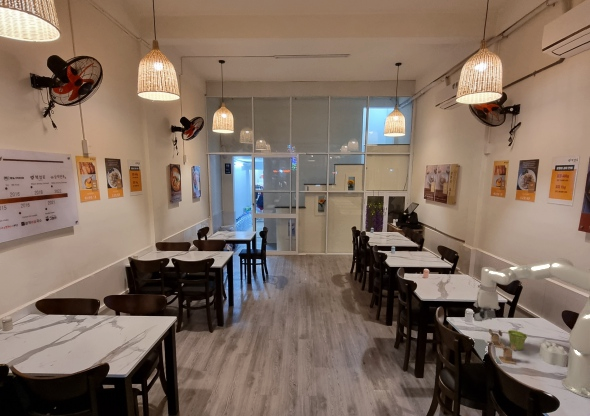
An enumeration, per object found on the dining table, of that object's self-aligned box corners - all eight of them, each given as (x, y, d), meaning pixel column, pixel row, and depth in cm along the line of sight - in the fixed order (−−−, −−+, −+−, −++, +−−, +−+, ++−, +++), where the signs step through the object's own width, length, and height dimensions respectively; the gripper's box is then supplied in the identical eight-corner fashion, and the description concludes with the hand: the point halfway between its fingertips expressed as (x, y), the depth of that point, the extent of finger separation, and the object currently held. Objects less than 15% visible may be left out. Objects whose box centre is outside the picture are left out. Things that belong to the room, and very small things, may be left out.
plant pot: (508, 349, 169) (509, 335, 169) (505, 341, 178) (506, 328, 177) (527, 353, 165) (529, 339, 164) (523, 345, 173) (524, 332, 173)
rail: (495, 318, 158) (494, 310, 160) (487, 317, 159) (486, 309, 161) (481, 321, 177) (480, 314, 179) (474, 320, 178) (473, 314, 180)
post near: (515, 364, 155) (517, 348, 154) (502, 362, 156) (503, 346, 156) (511, 359, 160) (512, 343, 159) (498, 357, 161) (499, 341, 160)
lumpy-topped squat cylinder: (544, 363, 156) (546, 348, 156) (535, 350, 168) (537, 337, 168) (568, 368, 152) (570, 353, 151) (558, 355, 164) (559, 341, 163)
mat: (501, 363, 155) (501, 362, 155) (483, 361, 157) (483, 360, 157) (483, 340, 178) (483, 339, 178) (468, 338, 181) (468, 337, 181)
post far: (502, 348, 170) (503, 333, 169) (490, 346, 172) (491, 332, 171) (498, 343, 175) (499, 329, 174) (487, 342, 177) (488, 328, 176)
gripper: (474, 289, 163) (472, 319, 165) (507, 292, 159) (504, 322, 160) (469, 284, 170) (468, 313, 172) (501, 287, 166) (498, 316, 168)
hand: (485, 317), depth 166 cm, fingers closed on rail, 3 cm apart
